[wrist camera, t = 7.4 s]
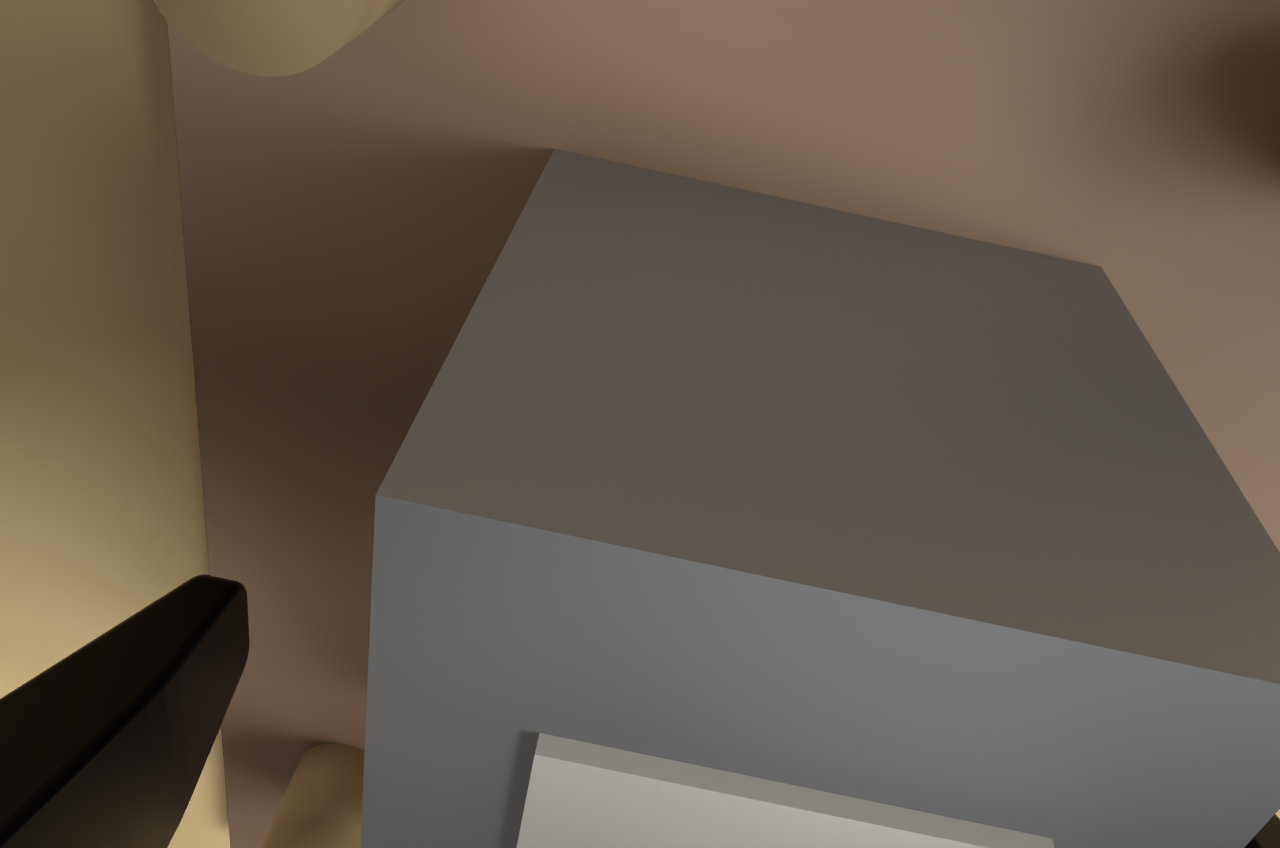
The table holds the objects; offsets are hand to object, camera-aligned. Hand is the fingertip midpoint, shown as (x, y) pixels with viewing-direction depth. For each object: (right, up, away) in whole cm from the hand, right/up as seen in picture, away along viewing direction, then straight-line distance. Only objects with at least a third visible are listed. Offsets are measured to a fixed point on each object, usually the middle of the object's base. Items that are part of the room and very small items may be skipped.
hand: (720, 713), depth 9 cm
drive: (0, +1, +2) cm, 2 cm away
